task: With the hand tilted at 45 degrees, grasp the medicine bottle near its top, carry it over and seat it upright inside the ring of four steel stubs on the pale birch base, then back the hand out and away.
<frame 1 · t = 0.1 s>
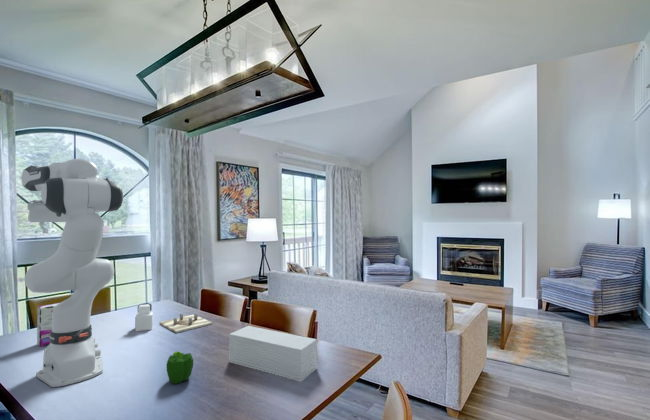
hand: (59, 232, 139), 48 cm above the table, tool pointing down, fingers open, 8 cm apart
candy bar box: (54, 342, 142), on the table
stack of papers: (271, 366, 119), on the table
medicine bottle: (144, 329, 159), on the table
bell pepper: (179, 380, 108), on the table
stub cradle: (185, 324, 166), on the table
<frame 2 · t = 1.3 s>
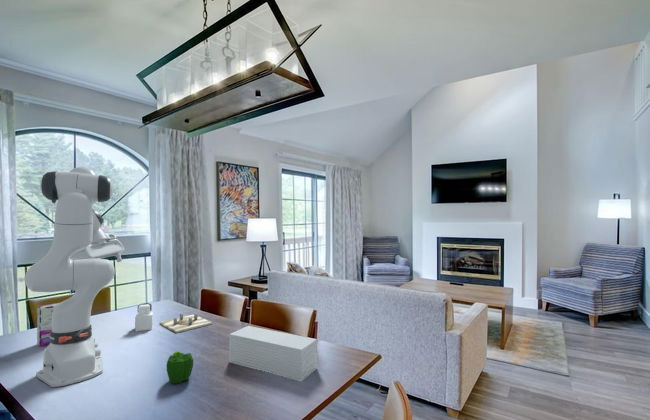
hand: (112, 263, 159), 32 cm above the table, tool tilted 35°, fingers open, 8 cm apart
nothing on the table moved.
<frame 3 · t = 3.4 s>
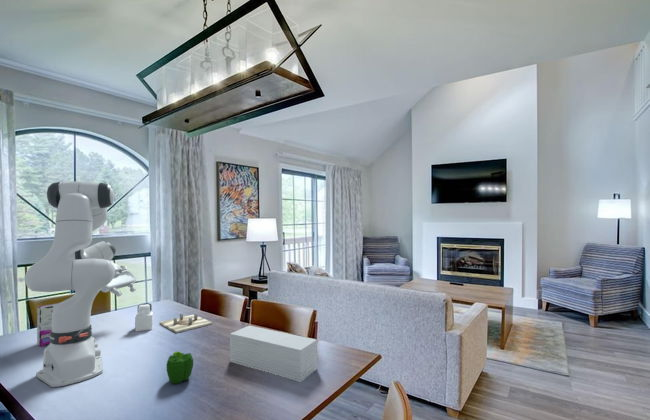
hand: (127, 293, 161), 17 cm above the table, tool tilted 45°, fingers open, 8 cm apart
nothing on the table moved.
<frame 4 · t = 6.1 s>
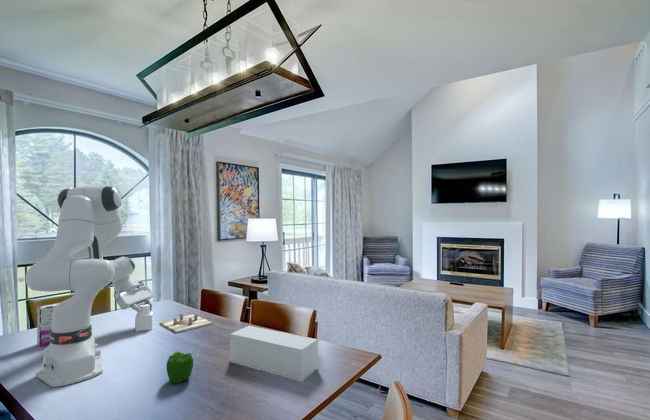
hand: (145, 309, 159), 9 cm above the table, tool tilted 45°, fingers closed on medicine bottle, 6 cm apart
medicine bottle: (144, 329, 159), on the table, touching gripper
everything else where it was.
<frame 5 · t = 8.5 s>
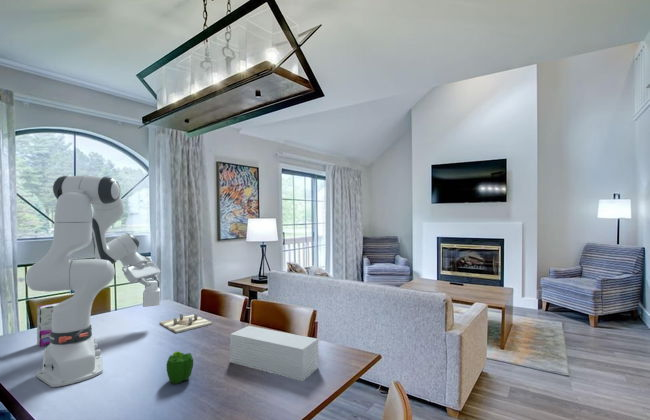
hand: (153, 284, 161), 21 cm above the table, tool tilted 45°, fingers closed on medicine bottle, 6 cm apart
medicine bottle: (151, 305, 161), point 11 cm above the table, touching gripper
everything else where it was.
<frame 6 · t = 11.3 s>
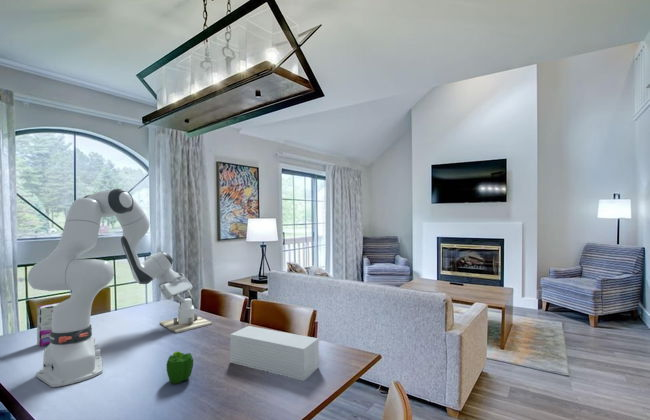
hand: (187, 299, 166), 12 cm above the table, tool tilted 45°, fingers closed on medicine bottle, 6 cm apart
medicine bottle: (186, 322, 166), point 1 cm above the table, touching gripper, stub cradle
everything else where it was.
when the fingers open (12 cm above the table, at t = 11.7 s): medicine bottle stays where it is, resting on stub cradle.
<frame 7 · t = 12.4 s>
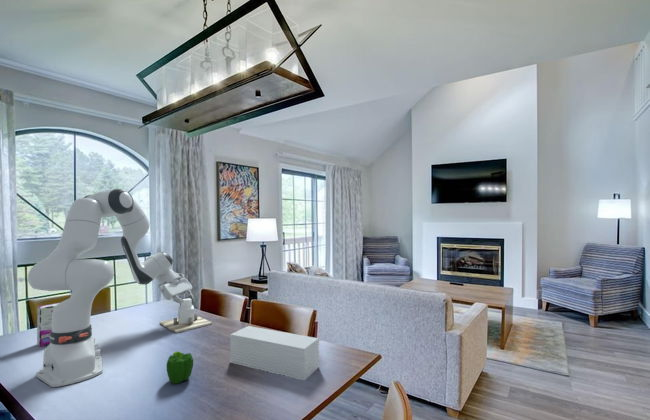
hand: (187, 300, 166), 12 cm above the table, tool tilted 45°, fingers open, 8 cm apart
medicine bottle: (186, 322, 166), point 1 cm above the table, touching stub cradle
everything else where it was.
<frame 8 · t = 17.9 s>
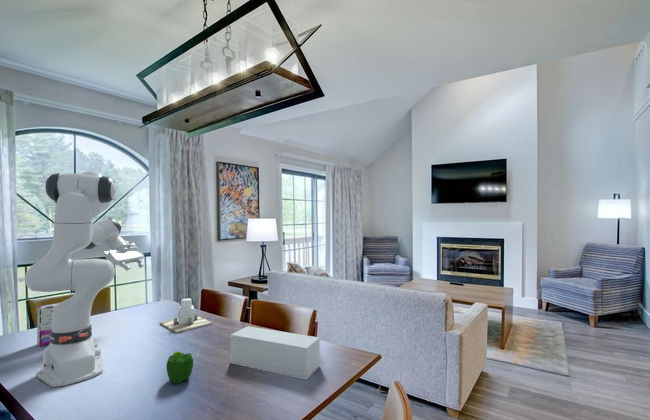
hand: (135, 268, 162), 29 cm above the table, tool tilted 45°, fingers open, 8 cm apart
at the end: medicine bottle 0.2 cm off-centre on the stub cradle, point 1.0 cm above the stub cradle's base; medicine bottle tilted 0°; the gripper is holding nothing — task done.
